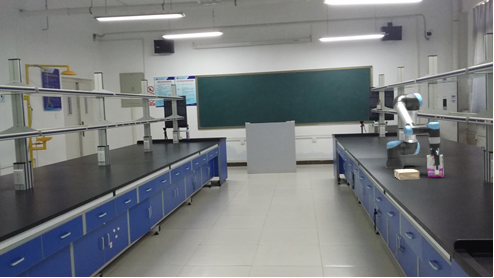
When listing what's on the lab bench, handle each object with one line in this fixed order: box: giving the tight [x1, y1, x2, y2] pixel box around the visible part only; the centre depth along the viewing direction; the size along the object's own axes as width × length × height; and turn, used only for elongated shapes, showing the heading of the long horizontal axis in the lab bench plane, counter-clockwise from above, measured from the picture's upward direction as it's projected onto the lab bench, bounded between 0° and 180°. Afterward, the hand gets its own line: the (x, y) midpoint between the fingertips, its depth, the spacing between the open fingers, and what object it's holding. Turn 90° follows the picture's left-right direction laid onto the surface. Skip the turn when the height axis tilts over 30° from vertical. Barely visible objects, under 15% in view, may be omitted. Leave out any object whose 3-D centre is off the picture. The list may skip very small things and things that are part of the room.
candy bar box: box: [426, 154, 445, 178], centre depth 312 cm, size 11×5×16 cm, turn 63°
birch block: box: [393, 168, 420, 181], centre depth 314 cm, size 14×14×6 cm
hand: (435, 173), depth 313 cm, fingers closed on candy bar box, 6 cm apart
